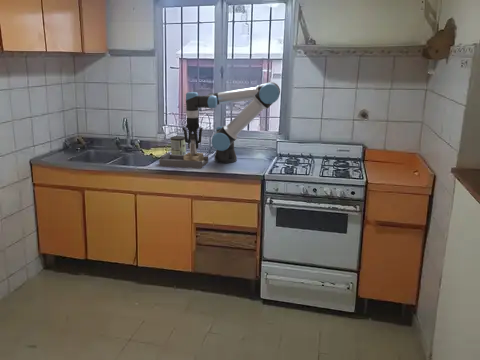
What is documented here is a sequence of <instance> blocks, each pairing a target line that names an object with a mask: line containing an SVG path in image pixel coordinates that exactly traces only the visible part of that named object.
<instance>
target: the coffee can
mask: <svg viewBox="0 0 480 360" xmlns="http://www.w3.org/2000/svg"><path fill="white" fill-rule="evenodd" d="M169 138H170V149H171V150H170V152H171V153H170V154H172V155H186V154H187V150H186V149H187V147H186V144H187V142H185V137H184V135H176V136H175V135H174V136H170V137H169Z"/></svg>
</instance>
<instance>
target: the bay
mask: <svg viewBox="0 0 480 360" xmlns="http://www.w3.org/2000/svg"><path fill="white" fill-rule="evenodd" d="M158 163H159V164H158V165H159V167H170V166H174V167H173V168H188V167H192V168H191V169H202V168H203V167H205V166H206V165H207V164H208V163H209V156H207V155H203V161H186V160H184V155H172V154H171V153H170V152H166V153H165V154H162V155H160V159H159V162H158Z"/></svg>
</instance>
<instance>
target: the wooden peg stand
mask: <svg viewBox="0 0 480 360" xmlns="http://www.w3.org/2000/svg"><path fill="white" fill-rule="evenodd" d="M190 138H191V154H190V151H189V152H186V155H184V160H186V161H203V156H204V152H197V154H195V136H194V132H192V134H191V135H190Z"/></svg>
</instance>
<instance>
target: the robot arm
mask: <svg viewBox="0 0 480 360" xmlns="http://www.w3.org/2000/svg"><path fill="white" fill-rule="evenodd" d="M280 95H281V89H280V87H279V85H278V84H277V83H275V82H274V81H273V82H272V81H271V82H270V81H269V82H266V83H262V84H258V85H256V86H255V87H247V88H240V89H234V90H229V91H228V90H227V91H226V90H225V91H220V92H215V93H214V92H211V93H208V94H207V95H199V93H198V92H196V91H188V92H186V93H185V108H186V109H185V113H186V119H185V120H186V125H185V126H183V127H182V131H183V136H184V137H185V142H186V144H187V145H188V146H187V148H188V149H189V152H190V154H191V138H190V135H191V134H192V133H194V136H195V154H197V153H198V149H199V144H200V143H201V142H202V136H203V135H202V134H203V130H204V127H201V126H200V124H199V123H200V122H199V109H201V108H202V109H216V108H217V106H218V105H224V104H231V103H238V102H239V103H240V102H246V101H250V102H249V103H248V104H247V106H246V107H244V108H243V109H242V110H241V111H240V112H239V113H238V114H237V115H236V116H235V117H234V118H233V119H231V121H230V122H229V124H227V125H223V126H217V127H216V129H215V132H216V133H215V134H213V136H212V138H211V144H212V147H213V148H214V149H215V150H216V151H215V154H214V162H215V163H219V164H229V163H235V162H236V161H237V158H238V157H237V154H236V151H235V141H236V140H237V139H238V135H239V134H240V133H241V132H242V131H243V130H244V129H245V128H246V127H247V126H249V124H251V122H252V121H253V120H254V119H255V118H256V117H257V116H258V115H259V114H260V113H261V112H262V111H263V110H267V109H269V108H270V107H271V106H272V105H273V104H274V103H276V102H277V101H278V99H279V97H280ZM187 130H188V131H187Z"/></svg>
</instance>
